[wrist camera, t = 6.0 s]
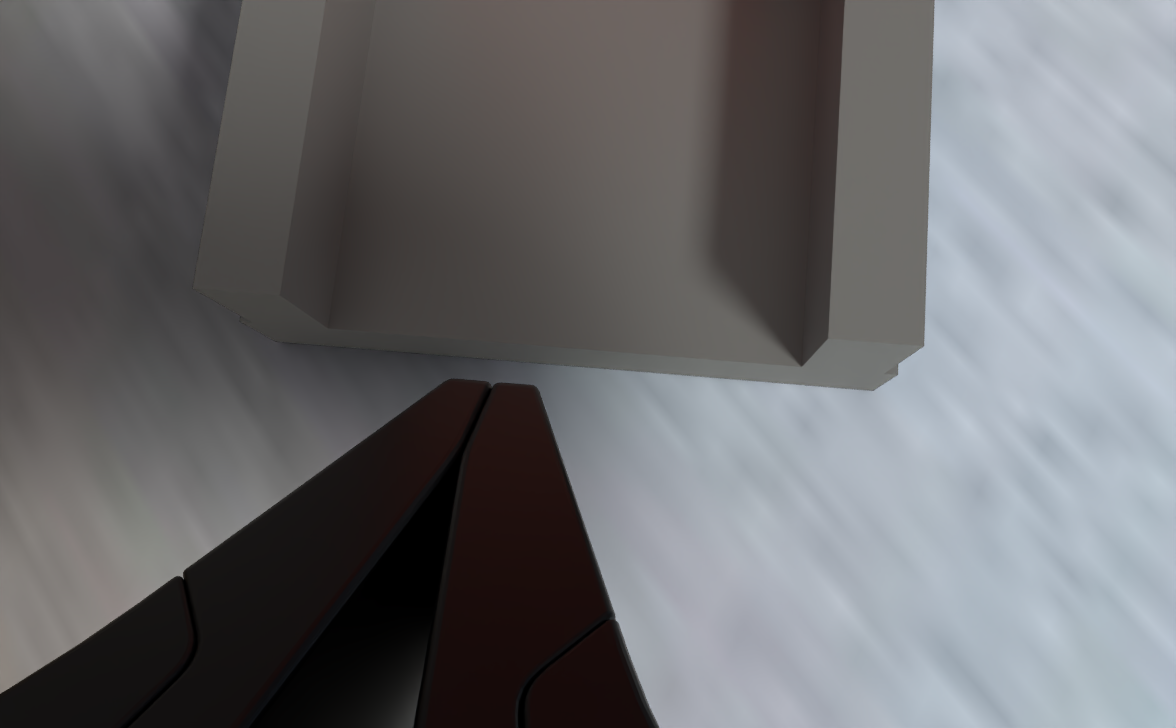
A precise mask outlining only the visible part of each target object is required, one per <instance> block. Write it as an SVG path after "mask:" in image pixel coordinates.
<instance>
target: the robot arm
mask: <svg viewBox="0 0 1176 728" xmlns="http://www.w3.org/2000/svg"><path fill="white" fill-rule="evenodd" d="M183 578H184V579H183ZM183 578H182V577H180V576H176V577H174V578H173V579H171V580H170V581H168V582H167V583H166V584H164V585H163V586H161V587H160V588H159V589H157V590H156V591H155V592H153V593H152V594H150V595H149V596H148V597H146V598H145V599H144V600H142V601H141V602H139V603H138V604H137V605H135V606H134V607H132V608H131V609H129V610H128V611H126V612H125V613H124V614H122V615H121V616H119V617H118V618H116V619H115V620H113V621H112V622H110V623H109V624H108V625H106V626H105V627H103V628H102V629H100V630H99V631H97V632H96V633H95V634H93V635H92V636H90V637H89V638H87V639H86V640H84V641H83V642H82V643H80V644H78V645H77V646H75V647H74V648H72V649H71V650H69V651H67V652H66V653H64V654H63V655H61V656H60V657H58V658H56V659H55V660H53V661H52V662H50V663H49V664H47V665H45V666H44V667H42V668H41V669H39V670H37V671H36V672H34V673H33V674H31V675H30V676H28V677H26V678H25V679H23V680H22V681H20V682H19V683H17V684H15V685H14V686H12V687H11V688H9V689H7V690H6V691H4V692H2V693H1V694H0V728H659V726H658V723H657V721H656V719H655V717H654V715H653V713H652V711H651V709H650V707H649V704H648V702H647V699H646V697H645V694H644V691H643V689H642V686H641V684H640V681H639V679H638V676H637V673H636V671H635V668H634V666H633V663H632V661H631V658H630V655H629V653H628V650H627V647H626V644H625V641H624V638H623V635H622V632H621V629H620V626H619V624H618V622H617V621H616V620H615V613H614V610H613V607H612V604H611V601H610V598H609V595H608V592H607V589H606V587H605V584H604V581H603V578H602V575H601V572H600V569H599V566H598V563H597V560H596V557H595V554H594V551H593V548H592V545H591V542H590V539H589V537H588V534H587V531H586V528H585V525H584V522H583V519H582V516H581V513H580V510H579V507H578V504H577V501H576V498H575V495H574V492H573V489H572V486H571V484H570V481H569V478H568V475H567V472H566V469H565V466H564V463H563V460H562V457H561V454H560V451H559V448H558V445H557V442H556V439H555V436H554V433H553V431H552V428H551V425H550V422H549V419H548V416H547V413H546V410H545V407H544V404H543V401H542V398H541V395H540V392H539V390H538V389H537V387H535V386H533V385H525V384H512V383H497V384H495V385H494V386H493V387H492V386H491V384H490V383H488V382H486V381H476V380H464V379H449V380H447V381H445V382H443V383H442V384H441V385H439V386H438V387H436V388H435V389H434V390H432V391H431V392H429V393H428V394H427V395H425V396H424V397H423V398H421V399H420V400H418V401H417V402H416V403H414V404H413V405H412V406H410V407H409V408H407V409H406V410H405V411H403V412H402V413H401V414H399V415H398V416H396V417H395V418H394V419H392V420H391V421H389V422H388V423H387V424H385V425H384V426H383V427H381V428H380V429H378V430H377V431H376V432H374V433H373V434H372V435H370V436H369V437H367V438H366V439H365V440H363V441H362V442H361V443H359V444H358V445H356V446H355V447H354V448H352V449H351V450H350V451H348V452H347V453H345V454H344V455H343V456H341V457H340V458H338V459H337V460H336V461H334V462H333V463H332V464H330V465H329V466H327V467H326V468H325V469H323V470H322V471H321V472H319V473H318V474H316V475H315V476H314V477H312V478H311V479H310V480H308V481H307V482H305V483H304V484H303V485H301V486H300V487H299V488H297V489H296V490H294V491H293V492H292V493H290V494H289V495H287V496H286V497H285V498H283V499H282V500H281V501H279V502H278V503H276V504H275V505H274V506H272V507H271V508H270V509H268V510H267V511H265V512H264V513H263V514H261V515H260V516H259V517H257V518H256V519H254V520H253V521H252V522H250V523H249V524H248V525H246V526H245V527H243V528H242V529H241V530H239V531H238V532H236V533H235V534H234V535H232V536H231V537H230V538H228V539H227V540H225V541H224V542H223V543H221V544H220V545H219V546H217V547H216V548H214V549H213V550H212V551H210V552H209V553H208V554H206V555H205V556H203V557H202V558H201V559H199V560H198V561H197V562H195V563H194V564H192V565H191V566H190V567H188V568H187V569H186V570H185V571H184V572H183Z"/></svg>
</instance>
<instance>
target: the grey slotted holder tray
mask: <svg viewBox="0 0 1176 728" xmlns="http://www.w3.org/2000/svg"><path fill="white" fill-rule="evenodd" d="M933 32H934V0H242V5H241V11H240V17H239V22H238V28H237V34H236V40H235V45H234V51H233V57H232V63H231V68H230V74H229V80H228V86H227V92H226V97H225V103H224V109H223V115H222V120H221V126H220V132H219V138H218V143H217V149H216V155H215V161H214V167H213V172H212V178H211V184H210V190H209V195H208V201H207V207H206V213H205V218H204V224H203V230H202V236H201V241H200V247H199V253H198V259H197V265H196V270H195V276H194V282H193V289H194V290H196V291H198V292H200V293H201V294H203V295H205V296H207V297H208V298H210V299H212V300H214V301H215V302H217V303H219V304H221V305H222V306H224V307H226V308H228V309H229V310H231V311H233V312H235V313H236V314H238V315H240V322H242V323H243V324H245V325H247V326H249V327H251V328H252V329H254V330H256V331H258V332H260V333H261V334H263V335H265V336H267V337H269V338H270V339H272V340H274V341H276V342H287V343H300V344H312V345H324V346H336V347H348V348H360V349H372V350H384V351H396V352H409V353H421V354H433V355H445V356H457V357H469V358H481V359H493V360H506V361H518V362H530V363H542V364H554V365H566V366H578V367H590V368H603V369H615V370H627V371H639V372H651V373H663V374H675V375H687V376H700V377H712V378H724V379H736V380H748V381H760V382H772V383H784V384H797V385H809V386H821V387H833V388H845V389H857V390H869V391H874V390H875V389H877V388H878V387H880V386H881V385H883V384H884V383H886V382H888V381H889V380H891V379H892V378H894V377H895V376H897V375H898V364H899V363H900V362H902V361H903V360H905V359H906V358H908V357H909V356H910V355H912V354H913V353H915V352H916V351H918V350H919V349H921V348H922V347H924V330H925V297H926V264H927V231H928V198H929V165H930V132H931V99H932V65H933Z"/></svg>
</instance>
